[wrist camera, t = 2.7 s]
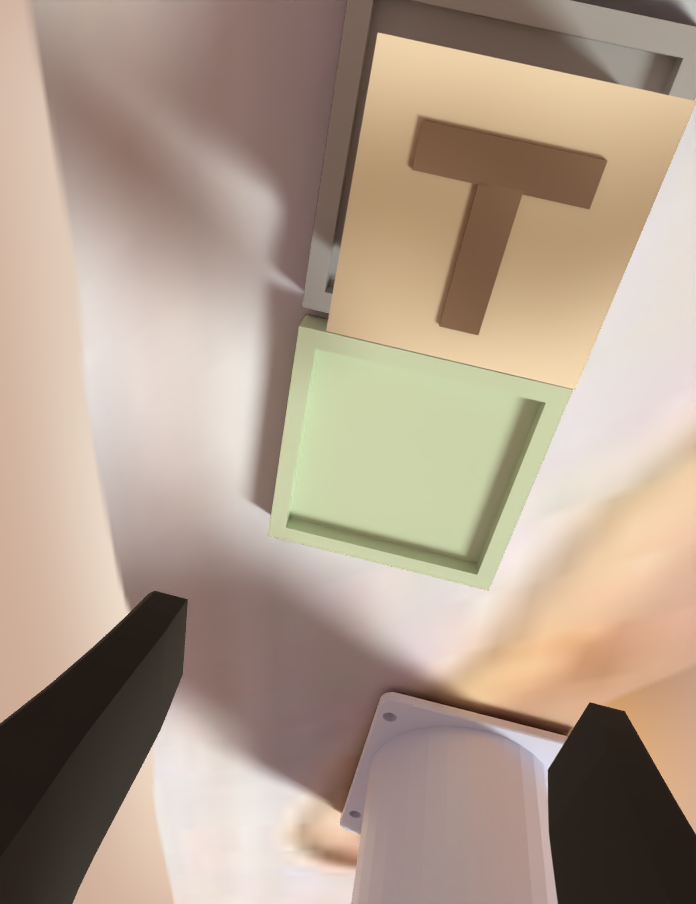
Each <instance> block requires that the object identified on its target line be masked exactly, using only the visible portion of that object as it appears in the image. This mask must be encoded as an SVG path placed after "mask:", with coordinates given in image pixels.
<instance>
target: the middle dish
mask: <svg viewBox="0 0 696 904" xmlns="http://www.w3.org/2000/svg"><path fill="white" fill-rule="evenodd" d="M378 33H382V34H387V35H392V36H396V37H401V38H406V39H410V40H415V41H420V42H424V43H429V44H433V45H438V46H443V47H447V48H452V49H457V50H461V51H466V52H471V53H475V54H480V55H484V56H489V57H494V58H498V59H503V60H508V61H512V62H517V63H521V64H526V65H531V66H535V67H540V68H545V69H549V70H554V71H559V72H563V73H568V74H572V75H577V76H582V77H586V78H591V79H596V80H600V81H605V82H610V83H614V84H619V85H623V86H628V87H633V88H637V89H642V90H647V91H651V92H656V93H661V94H665V95H670V96H674V97H679V98H684V99H688V100H693V101H694V100H695V98H696V27H695V26H690V25H685V24H680V23H676V22H671V21H666V20H662V19H657V18H652V17H647V16H643V15H638V14H633V13H628V12H624V11H619V10H614V9H610V8H605V7H600V6H595V5H591V4H586V3H581V2H576V1H572V0H347V4H346V11H345V18H344V25H343V32H342V38H341V45H340V52H339V59H338V65H337V72H336V79H335V86H334V92H333V99H332V106H331V113H330V120H329V126H328V133H327V140H326V147H325V153H324V160H323V167H322V174H321V180H320V187H319V194H318V201H317V208H316V214H315V221H314V228H313V235H312V241H311V248H310V255H309V262H308V268H307V275H306V282H305V289H304V296H303V302H302V307H304V308H308V309H312V310H317V311H321V312H325V313H329V311H330V305H331V300H332V294H333V288H334V282H335V276H336V271H337V265H338V259H339V253H340V248H341V242H342V236H343V230H344V224H345V219H346V213H347V207H348V201H349V196H350V190H351V184H352V178H353V172H354V167H355V161H356V155H357V149H358V144H359V138H360V132H361V126H362V120H363V115H364V109H365V103H366V97H367V92H368V86H369V80H370V74H371V68H372V63H373V57H374V51H375V45H376V39H377V34H378Z"/></svg>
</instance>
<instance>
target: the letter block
mask: <svg viewBox="0 0 696 904" xmlns="http://www.w3.org/2000/svg"><path fill="white" fill-rule="evenodd" d="M695 104H696V101H693V100H688V99H684V98H679V97H674V96H670V95H665V94H661V93H656V92H651V91H647V90H642V89H637V88H633V87H628V86H623V85H619V84H614V83H610V82H605V81H600V80H596V79H591V78H586V77H582V76H577V75H572V74H568V73H563V72H559V71H554V70H549V69H545V68H540V67H535V66H531V65H526V64H521V63H517V62H512V61H508V60H503V59H498V58H494V57H489V56H484V55H480V54H475V53H471V52H466V51H461V50H457V49H452V48H447V47H443V46H438V45H433V44H429V43H424V42H420V41H415V40H410V39H406V38H401V37H396V36H392V35H387V34H382V33H378V34H377V39H376V45H375V51H374V57H373V63H372V68H371V74H370V80H369V86H368V92H367V97H366V103H365V109H364V115H363V120H362V126H361V132H360V138H359V144H358V149H357V155H356V161H355V167H354V172H353V178H352V184H351V190H350V196H349V201H348V207H347V213H346V219H345V224H344V230H343V236H342V242H341V248H340V253H339V259H338V265H337V271H336V276H335V282H334V288H333V294H332V300H331V305H330V311H329V317H328V323H327V328H326V331H328V332H332V333H336V334H341V335H345V336H349V337H353V338H358V339H362V340H366V341H370V342H375V343H379V344H383V345H388V346H392V347H396V348H400V349H405V350H409V351H413V352H417V353H422V354H426V355H430V356H434V357H439V358H443V359H447V360H452V361H456V362H460V363H464V364H469V365H473V366H477V367H481V368H486V369H490V370H494V371H499V372H503V373H507V374H511V375H516V376H520V377H524V378H528V379H533V380H537V381H541V382H545V383H550V384H554V385H558V386H563V387H567V388H571V389H575V388H576V386H577V384H578V381H579V379H580V377H581V374H582V372H583V370H584V367H585V365H586V362H587V360H588V358H589V355H590V353H591V351H592V348H593V346H594V343H595V341H596V339H597V336H598V334H599V332H600V329H601V327H602V324H603V322H604V320H605V317H606V315H607V313H608V310H609V308H610V306H611V303H612V301H613V298H614V296H615V294H616V291H617V289H618V287H619V284H620V282H621V279H622V277H623V275H624V272H625V270H626V268H627V265H628V263H629V260H630V258H631V256H632V253H633V251H634V249H635V246H636V244H637V242H638V239H639V237H640V234H641V232H642V230H643V227H644V225H645V223H646V220H647V218H648V215H649V213H650V211H651V208H652V206H653V204H654V201H655V199H656V196H657V194H658V192H659V189H660V187H661V185H662V182H663V180H664V178H665V175H666V173H667V170H668V168H669V166H670V163H671V161H672V159H673V156H674V154H675V151H676V149H677V147H678V144H679V142H680V140H681V137H682V135H683V132H684V130H685V128H686V125H687V123H688V121H689V118H690V116H691V114H692V111H693V109H694V106H695Z"/></svg>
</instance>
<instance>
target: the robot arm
mask: <svg viewBox="0 0 696 904" xmlns="http://www.w3.org/2000/svg"><path fill="white" fill-rule="evenodd" d="M187 602H188V599H184V598H180V597H176V596H172V595H169V594H165V593H161V592H157V591H154V592H152V593H150V594H148V595H147V596H146V597H145V598H144V599H143V600H142V601H141V602H140V603H139V604H138V605H137V606H136V607H135V608H134V609H133V610H132V611H131V612H130V613H129V614H128V615H127V616H126V617H125V618H124V619H123V620H122V621H121V622H120V623H119V624H117V625H116V627H114V628H113V629H112V630H111V631H110V632H109V633H108V634H107V635H106V636H105V637H103V638H102V639H101V640H100V641H99V642H98V643H97V644H96V645H95V646H94V647H93V648H92V649H91V650H89V651H88V652H87V653H86V654H85V655H83V656H82V657H81V658H80V659H79V660H78V661H76V662H75V663H74V664H73V665H72V666H71V667H70V668H68V669H67V670H66V671H65V672H64V673H63V674H62V675H60V676H59V677H58V678H57V679H56V680H54V681H53V682H52V683H51V684H50V685H49V686H47V687H46V688H45V689H44V690H42V691H41V692H40V693H38V694H37V695H36V696H35V697H33V698H32V699H31V700H30V701H28V702H27V703H26V704H25V705H23V706H22V707H21V708H20V709H18V710H17V711H16V712H14V713H13V714H12V715H11V716H9V717H8V718H7V719H5V720H4V721H3V722H2V723H0V904H72V903H73V901H74V898H75V896H76V894H77V891H78V889H79V887H80V884H81V883H82V880H83V878H84V876H85V874H86V872H87V870H88V868H89V866H90V864H91V862H92V860H93V858H94V856H95V854H96V852H97V850H98V848H99V846H100V844H101V842H102V840H103V838H104V837H105V835H106V833H107V831H108V829H109V827H110V825H111V823H112V821H113V820H114V818H115V816H116V814H117V812H118V810H119V808H120V806H121V804H122V802H123V801H124V799H125V797H126V795H127V793H128V791H129V789H130V787H131V785H132V783H133V781H134V780H135V778H136V776H137V774H138V772H139V770H140V768H141V766H142V764H143V762H144V761H145V758H146V757H147V755H148V753H149V751H150V749H151V747H152V745H153V743H154V741H155V739H156V737H157V735H158V733H159V732H160V730H161V727H162V725H163V722H164V720H165V717H166V715H167V712H168V710H169V707H170V705H171V702H172V700H173V697H174V695H175V692H176V690H177V687H178V685H179V682H180V679H181V677H182V674H183V660H184V645H185V631H186V617H187ZM340 825H341V826H342V828H343V829H345V830H347V831H350V832H354V833H358V834H361V836H360V843H359V851H358V858H357V865H356V873H355V880H354V888H353V895H352V902H351V904H696V834H695V832H694V831H693V829H692V827H691V826H690V824H689V823H688V821H687V819H686V817H685V816H684V814H683V812H682V811H681V809H680V807H679V806H678V804H677V802H676V800H675V799H674V797H673V795H672V793H671V792H670V790H669V788H668V787H667V785H666V783H665V781H664V779H663V778H662V776H661V774H660V772H659V771H658V769H657V767H656V766H655V764H654V762H653V760H652V758H651V757H650V755H649V753H648V751H647V750H646V748H645V746H644V744H643V742H642V741H641V739H640V737H639V735H638V734H637V732H636V730H635V729H634V727H633V725H632V723H631V722H630V720H629V718H628V716H627V715H626V713H625V711H621V710H617V709H613V708H609V707H606V706H602V705H598V704H594V703H589V704H588V706H587V708H586V709H585V711H584V712H583V714H582V716H581V717H580V719H579V720H578V722H577V724H576V725H575V727H574V728H573V730H572V732H571V733H570V735H569V736H565V735H561V734H557V733H553V732H549V731H545V730H541V729H537V728H533V727H530V726H526V725H522V724H518V723H514V722H510V721H506V720H502V719H498V718H494V717H490V716H486V715H482V714H479V713H475V712H471V711H467V710H463V709H459V708H455V707H451V706H447V705H443V704H439V703H435V702H431V701H427V700H424V699H420V698H416V697H412V696H408V695H404V694H400V693H396V692H388V693H385V694H383V695H382V696H381V698H380V700H379V703H378V706H377V709H376V712H375V715H374V718H373V721H372V724H371V727H370V730H369V733H368V736H367V739H366V742H365V745H364V748H363V751H362V754H361V757H360V760H359V763H358V766H357V769H356V772H355V775H354V778H353V781H352V784H351V787H350V790H349V793H348V796H347V799H346V802H345V805H344V808H343V811H342V814H341V819H340Z"/></svg>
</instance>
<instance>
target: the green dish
mask: <svg viewBox="0 0 696 904" xmlns="http://www.w3.org/2000/svg"><path fill="white" fill-rule="evenodd" d="M327 323H328V319H325V318H321V317H317V316H312V315H308V314H306V316H305V317H304V319H303V320H302V322H301V324H300V325H299V329H298V336H297V343H296V350H295V356H294V363H293V370H292V377H291V384H290V390H289V397H288V404H287V411H286V417H285V424H284V431H283V438H282V444H281V451H280V458H279V465H278V472H277V478H276V485H275V492H274V499H273V505H272V512H271V519H270V526H269V532H268V536H270V537H274V538H278V539H282V540H286V541H290V542H294V543H298V544H302V545H306V546H310V547H315V548H319V549H323V550H327V551H331V552H335V553H339V554H343V555H347V556H351V557H355V558H359V559H363V560H367V561H371V562H375V563H379V564H383V565H387V566H391V567H395V568H399V569H403V570H407V571H412V572H416V573H420V574H424V575H428V576H432V577H436V578H440V579H444V580H448V581H452V582H456V583H460V584H464V585H468V586H472V587H476V588H480V589H484V590H488V591H489V588H490V586H491V584H492V581H493V579H494V577H495V574H496V572H497V569H498V567H499V565H500V562H501V560H502V557H503V555H504V553H505V550H506V548H507V546H508V543H509V541H510V538H511V536H512V534H513V531H514V529H515V527H516V524H517V522H518V519H519V517H520V515H521V512H522V510H523V507H524V505H525V503H526V500H527V498H528V496H529V493H530V491H531V488H532V486H533V484H534V481H535V479H536V477H537V474H538V472H539V469H540V467H541V465H542V462H543V460H544V457H545V455H546V453H547V450H548V448H549V446H550V443H551V441H552V438H553V436H554V434H555V431H556V429H557V427H558V424H559V422H560V419H561V417H562V415H563V412H564V410H565V407H566V405H567V403H568V400H569V398H570V396H571V393H572V391H573V389H571V388H567V387H563V386H558V385H554V384H550V383H545V382H541V381H537V380H533V379H528V378H524V377H520V376H516V375H511V374H507V373H503V372H499V371H494V370H490V369H486V368H481V367H477V366H473V365H469V364H464V363H460V362H456V361H452V360H447V359H443V358H439V357H434V356H430V355H426V354H422V353H417V352H413V351H409V350H405V349H400V348H396V347H392V346H388V345H383V344H379V343H375V342H370V341H366V340H362V339H358V338H353V337H349V336H345V335H341V334H336V333H332V332H328V331H326V328H327Z"/></svg>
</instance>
